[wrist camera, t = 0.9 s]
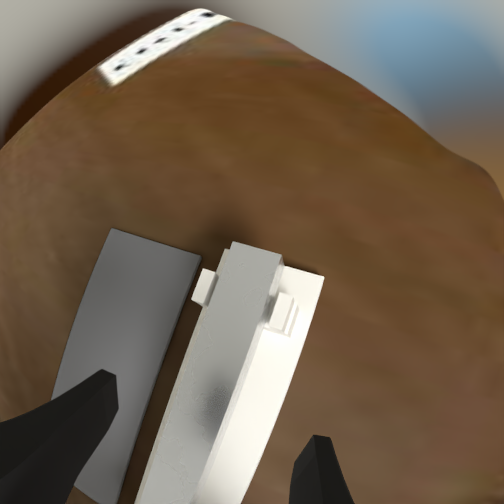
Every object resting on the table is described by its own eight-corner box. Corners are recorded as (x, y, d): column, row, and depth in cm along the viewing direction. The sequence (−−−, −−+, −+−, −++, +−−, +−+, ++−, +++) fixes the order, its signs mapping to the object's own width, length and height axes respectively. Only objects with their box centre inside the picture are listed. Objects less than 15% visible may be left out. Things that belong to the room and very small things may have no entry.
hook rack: (209, 566, 17) (184, 603, 11) (130, 528, 19) (92, 554, 13) (323, 280, 24) (328, 252, 18) (228, 252, 26) (203, 219, 20)
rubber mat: (114, 511, 20) (112, 512, 19) (42, 456, 22) (39, 456, 22) (201, 257, 27) (200, 255, 26) (113, 229, 29) (111, 227, 29)
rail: (167, 572, 14) (154, 586, 11) (133, 555, 14) (118, 567, 12) (284, 266, 20) (281, 254, 18) (241, 254, 21) (232, 241, 19)
